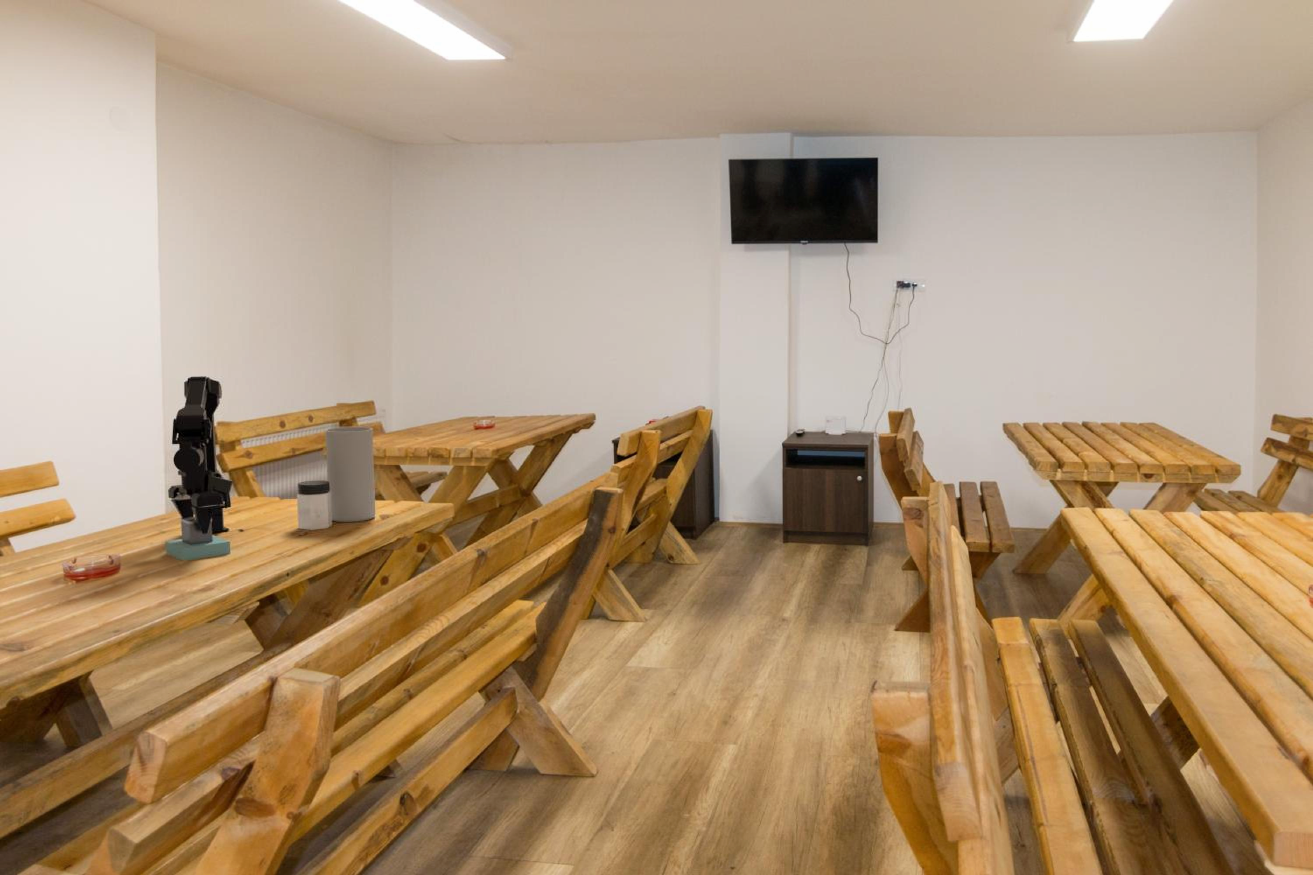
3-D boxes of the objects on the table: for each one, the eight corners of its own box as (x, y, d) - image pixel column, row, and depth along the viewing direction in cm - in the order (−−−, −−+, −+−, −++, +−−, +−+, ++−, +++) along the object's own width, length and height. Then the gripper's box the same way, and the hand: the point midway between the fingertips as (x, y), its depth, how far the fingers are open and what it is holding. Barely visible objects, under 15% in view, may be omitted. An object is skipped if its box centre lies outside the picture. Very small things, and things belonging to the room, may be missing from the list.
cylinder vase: (383, 515, 310) (380, 427, 307) (361, 523, 298) (358, 432, 295) (343, 513, 313) (340, 426, 310) (320, 521, 300) (316, 431, 298)
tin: (181, 541, 262) (180, 518, 261) (204, 538, 265) (203, 515, 265) (190, 544, 258) (188, 521, 257) (213, 541, 261) (211, 518, 261)
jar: (302, 531, 287) (301, 486, 286) (294, 526, 294) (292, 482, 293) (336, 527, 292) (335, 483, 291) (327, 522, 299) (325, 479, 298)
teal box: (166, 555, 262) (165, 541, 262) (212, 548, 270) (211, 534, 269) (183, 563, 254) (182, 548, 254) (230, 555, 262) (229, 541, 262)
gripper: (243, 466, 258) (246, 531, 260) (211, 458, 272) (215, 520, 274) (195, 471, 251) (199, 538, 253) (165, 463, 264) (169, 527, 266)
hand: (197, 530), depth 261 cm, fingers open, 9 cm apart
